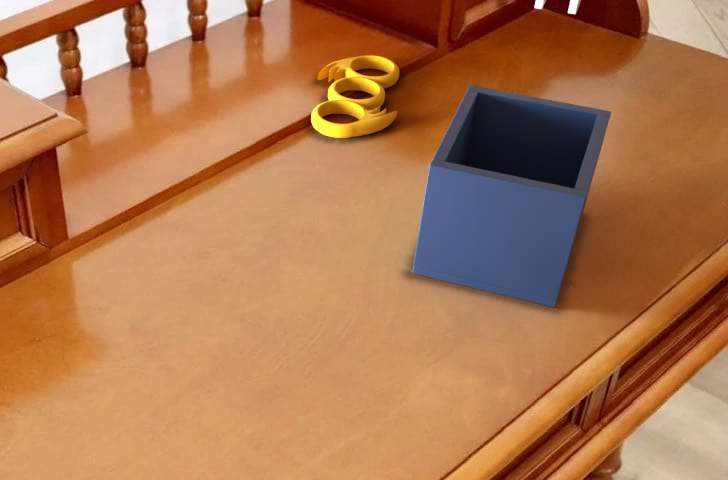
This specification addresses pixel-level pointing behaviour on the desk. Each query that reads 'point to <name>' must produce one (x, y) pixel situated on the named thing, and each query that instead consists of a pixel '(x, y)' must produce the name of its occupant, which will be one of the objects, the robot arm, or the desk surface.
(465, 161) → the bin
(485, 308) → the desk surface
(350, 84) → the yellow winged triple ring
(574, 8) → the clip
